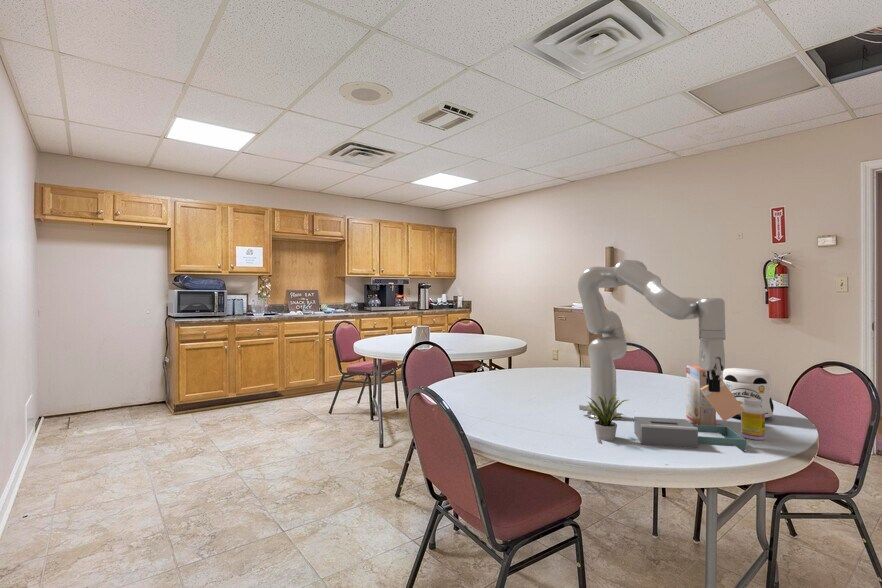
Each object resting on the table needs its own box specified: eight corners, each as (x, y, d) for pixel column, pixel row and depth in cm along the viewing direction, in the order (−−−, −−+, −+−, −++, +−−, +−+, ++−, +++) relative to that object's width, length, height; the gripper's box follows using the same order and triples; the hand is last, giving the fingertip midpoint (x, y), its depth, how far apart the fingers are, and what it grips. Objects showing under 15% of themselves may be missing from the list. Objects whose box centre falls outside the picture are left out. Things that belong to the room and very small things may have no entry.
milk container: (737, 422, 166) (737, 375, 166) (711, 410, 184) (711, 367, 184) (784, 423, 166) (784, 375, 166) (754, 410, 183) (754, 367, 183)
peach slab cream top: (724, 421, 143) (701, 389, 145) (722, 420, 145) (699, 388, 147) (744, 410, 142) (721, 378, 144) (742, 409, 144) (719, 377, 145)
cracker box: (717, 428, 160) (716, 370, 160) (699, 427, 161) (698, 370, 161) (702, 417, 174) (702, 364, 174) (685, 416, 175) (685, 364, 175)
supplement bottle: (766, 441, 145) (765, 402, 145) (741, 438, 148) (741, 400, 148) (764, 436, 151) (763, 398, 151) (740, 433, 154) (740, 396, 154)
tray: (696, 447, 140) (696, 436, 140) (682, 433, 154) (682, 423, 154) (746, 450, 137) (745, 439, 137) (727, 436, 150) (727, 426, 150)
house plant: (628, 436, 151) (628, 389, 151) (636, 450, 138) (636, 398, 138) (585, 434, 154) (584, 387, 154) (589, 447, 141) (588, 396, 141)
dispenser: (641, 449, 139) (641, 425, 139) (634, 437, 151) (634, 414, 151) (698, 452, 135) (697, 428, 135) (685, 440, 147) (685, 417, 147)
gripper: (691, 333, 154) (692, 386, 153) (707, 337, 138) (709, 395, 138) (715, 333, 152) (716, 386, 152) (734, 337, 137) (735, 396, 137)
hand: (713, 390), depth 145 cm, fingers closed on peach slab cream top, 1 cm apart
